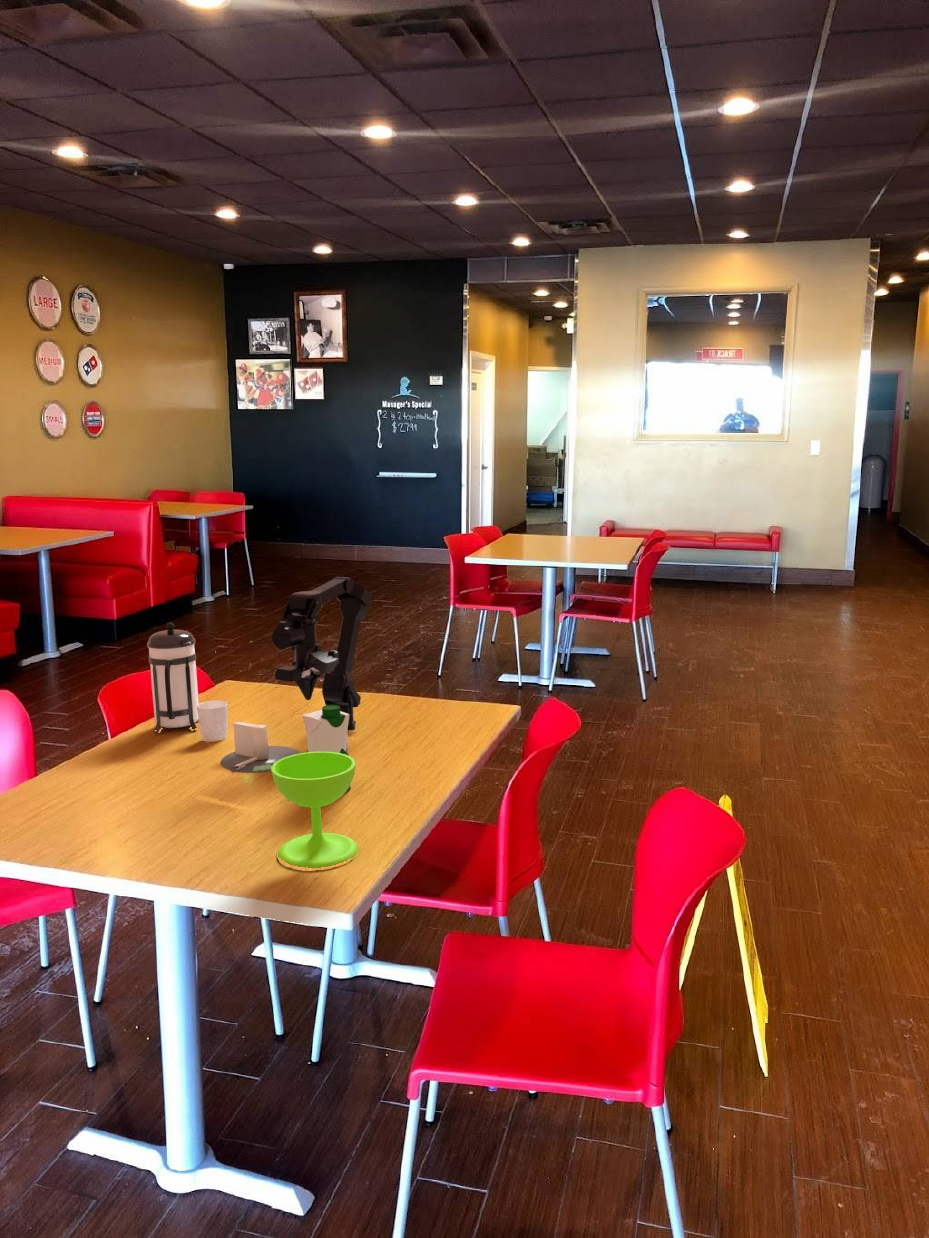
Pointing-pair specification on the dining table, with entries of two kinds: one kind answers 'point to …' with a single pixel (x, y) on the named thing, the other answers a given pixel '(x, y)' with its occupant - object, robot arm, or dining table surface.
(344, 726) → the milk carton
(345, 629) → the robot arm
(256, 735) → the peg key
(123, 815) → the dining table surface
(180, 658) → the coffee press
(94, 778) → the dining table surface
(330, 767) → the wineglass
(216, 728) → the white cup
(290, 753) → the tuner plate
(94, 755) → the dining table surface
